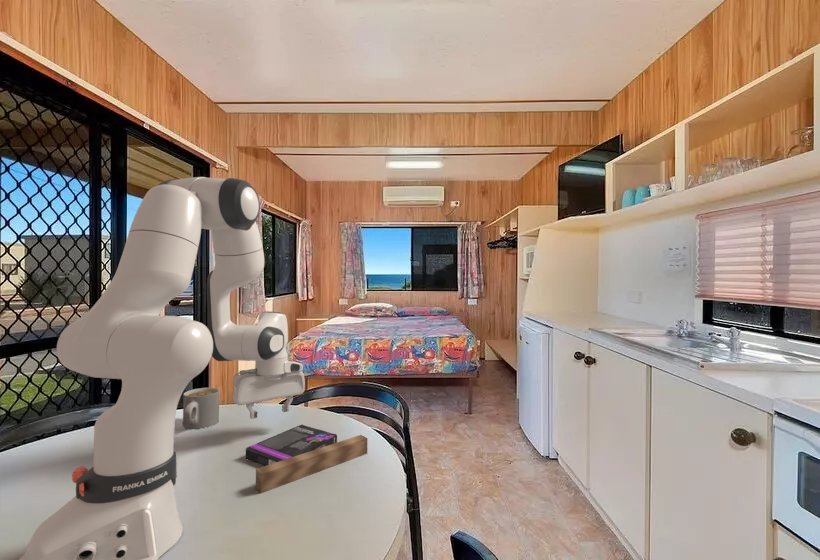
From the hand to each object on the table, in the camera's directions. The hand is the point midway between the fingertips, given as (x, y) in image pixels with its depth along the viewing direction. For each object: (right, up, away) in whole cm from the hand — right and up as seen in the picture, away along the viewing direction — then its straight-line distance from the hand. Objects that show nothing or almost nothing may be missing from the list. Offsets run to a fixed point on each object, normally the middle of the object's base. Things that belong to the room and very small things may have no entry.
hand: (269, 414), depth 109 cm
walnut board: (+18, -6, -19) cm, 27 cm away
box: (+10, -7, -9) cm, 15 cm away
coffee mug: (-26, -6, +8) cm, 27 cm away
